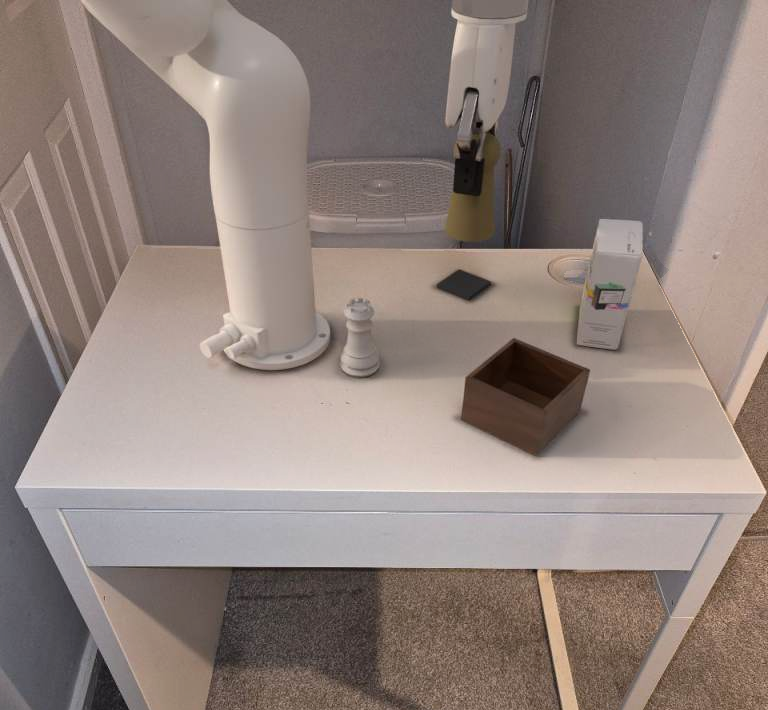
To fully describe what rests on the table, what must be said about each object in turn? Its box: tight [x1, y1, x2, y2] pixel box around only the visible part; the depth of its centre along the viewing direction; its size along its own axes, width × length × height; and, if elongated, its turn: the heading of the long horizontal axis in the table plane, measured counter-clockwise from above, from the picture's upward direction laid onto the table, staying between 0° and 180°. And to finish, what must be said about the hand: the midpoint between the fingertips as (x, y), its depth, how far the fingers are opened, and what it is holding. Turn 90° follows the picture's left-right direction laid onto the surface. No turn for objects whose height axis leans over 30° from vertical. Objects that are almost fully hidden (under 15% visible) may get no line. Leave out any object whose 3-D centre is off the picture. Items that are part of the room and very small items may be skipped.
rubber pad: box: [436, 269, 492, 301], centre depth 97 cm, size 5×5×1 cm
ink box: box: [576, 218, 644, 351], centre depth 87 cm, size 8×5×12 cm, turn 167°
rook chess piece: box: [339, 296, 381, 379], centre depth 82 cm, size 4×4×8 cm
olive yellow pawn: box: [444, 132, 501, 243], centre depth 88 cm, size 6×6×11 cm
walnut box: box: [460, 337, 591, 457], centre depth 77 cm, size 9×9×5 cm
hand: (473, 181), depth 88 cm, fingers closed on olive yellow pawn, 5 cm apart
